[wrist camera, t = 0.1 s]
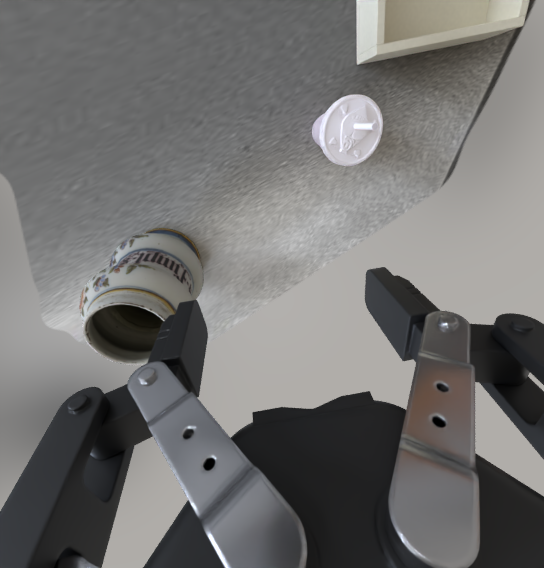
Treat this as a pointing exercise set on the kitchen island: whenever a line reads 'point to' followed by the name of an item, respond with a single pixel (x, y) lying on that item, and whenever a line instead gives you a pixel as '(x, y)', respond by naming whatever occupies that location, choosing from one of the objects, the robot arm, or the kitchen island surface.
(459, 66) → the kitchen island surface
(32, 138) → the kitchen island surface
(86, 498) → the robot arm
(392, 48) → the wooden tray
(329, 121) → the smoothie
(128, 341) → the apothecary jar
